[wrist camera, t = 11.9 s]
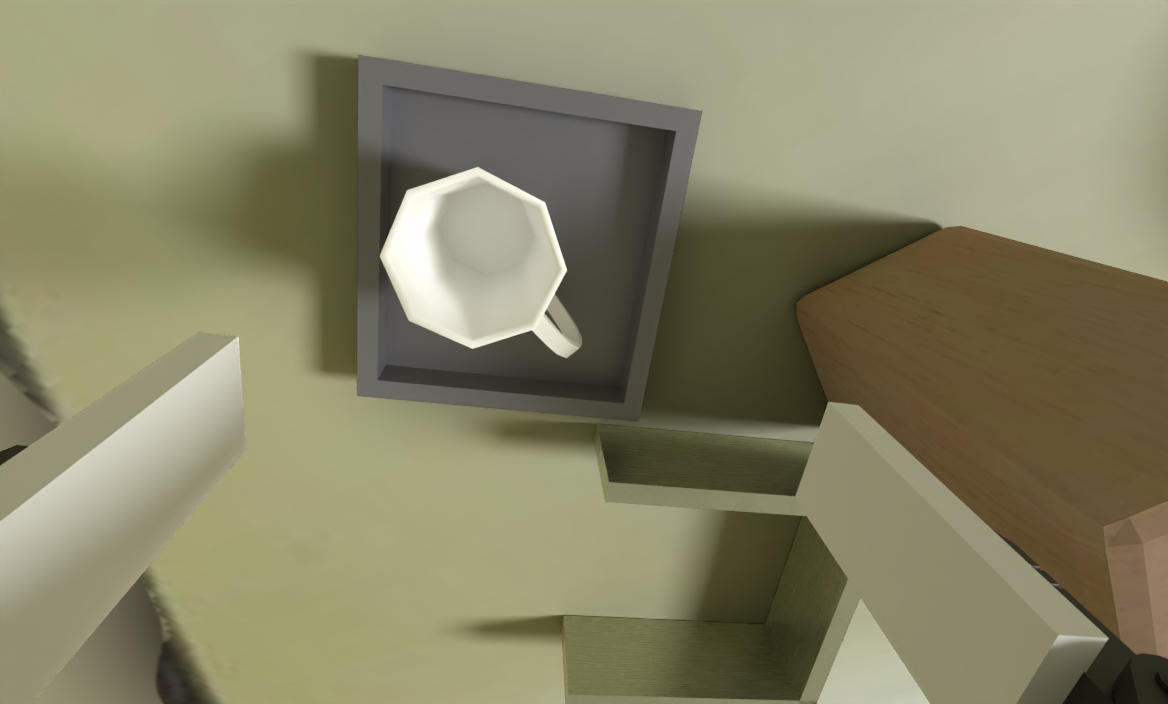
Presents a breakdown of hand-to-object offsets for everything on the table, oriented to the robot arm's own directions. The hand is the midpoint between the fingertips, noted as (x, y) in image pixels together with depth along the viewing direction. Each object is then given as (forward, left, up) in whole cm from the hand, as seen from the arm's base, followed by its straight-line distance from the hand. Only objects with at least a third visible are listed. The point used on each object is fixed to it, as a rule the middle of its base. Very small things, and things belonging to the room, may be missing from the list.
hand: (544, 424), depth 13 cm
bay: (+18, +13, -19) cm, 29 cm away
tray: (0, -1, -19) cm, 19 cm away
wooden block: (+2, +21, -19) cm, 29 cm away
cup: (0, -1, -19) cm, 19 cm away
